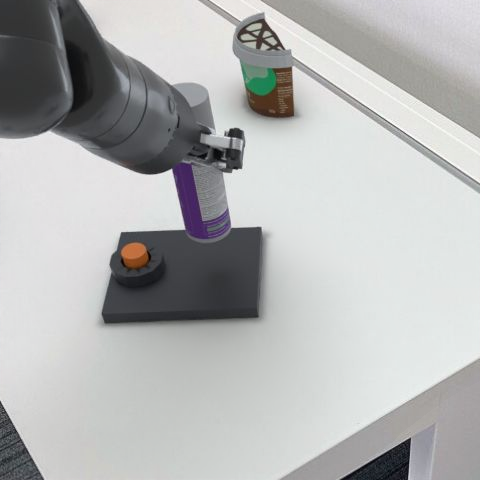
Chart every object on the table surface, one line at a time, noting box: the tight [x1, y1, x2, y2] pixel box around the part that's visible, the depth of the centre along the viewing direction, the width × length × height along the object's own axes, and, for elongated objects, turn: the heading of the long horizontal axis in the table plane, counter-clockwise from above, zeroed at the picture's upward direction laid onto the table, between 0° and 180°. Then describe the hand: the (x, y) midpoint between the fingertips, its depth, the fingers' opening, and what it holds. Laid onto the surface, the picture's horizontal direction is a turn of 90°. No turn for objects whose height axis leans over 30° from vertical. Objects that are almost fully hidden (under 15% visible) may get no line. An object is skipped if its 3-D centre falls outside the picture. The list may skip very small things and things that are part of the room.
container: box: [171, 82, 232, 243], centre depth 73 cm, size 5×5×15 cm
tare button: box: [121, 243, 149, 269], centre depth 81 cm, size 3×3×2 cm
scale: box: [100, 226, 264, 324], centre depth 83 cm, size 16×13×3 cm
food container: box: [231, 11, 295, 118], centre depth 103 cm, size 12×6×10 cm, turn 22°
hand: (204, 159), depth 75 cm, fingers closed on container, 4 cm apart
